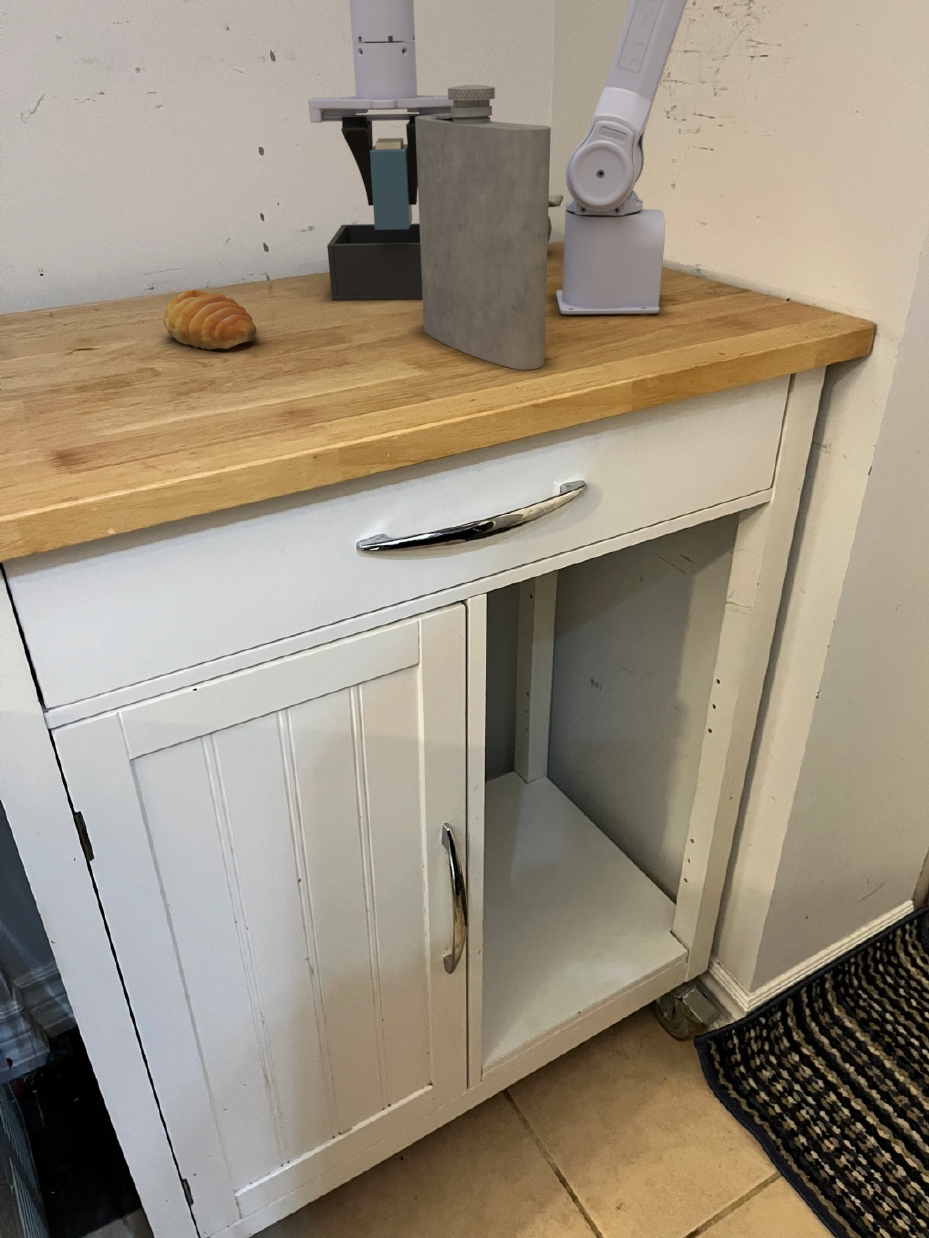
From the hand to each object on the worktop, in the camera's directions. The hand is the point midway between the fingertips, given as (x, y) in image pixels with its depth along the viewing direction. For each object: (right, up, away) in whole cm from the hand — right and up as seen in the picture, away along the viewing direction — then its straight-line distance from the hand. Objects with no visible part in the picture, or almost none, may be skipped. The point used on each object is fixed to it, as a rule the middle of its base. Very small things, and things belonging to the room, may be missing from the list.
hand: (392, 203), depth 93 cm
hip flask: (+8, -17, -10) cm, 22 cm away
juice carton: (0, -2, +1) cm, 2 cm away
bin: (+1, -5, +9) cm, 10 cm away
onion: (+14, +3, +21) cm, 25 cm away
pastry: (-16, -16, -7) cm, 23 cm away
